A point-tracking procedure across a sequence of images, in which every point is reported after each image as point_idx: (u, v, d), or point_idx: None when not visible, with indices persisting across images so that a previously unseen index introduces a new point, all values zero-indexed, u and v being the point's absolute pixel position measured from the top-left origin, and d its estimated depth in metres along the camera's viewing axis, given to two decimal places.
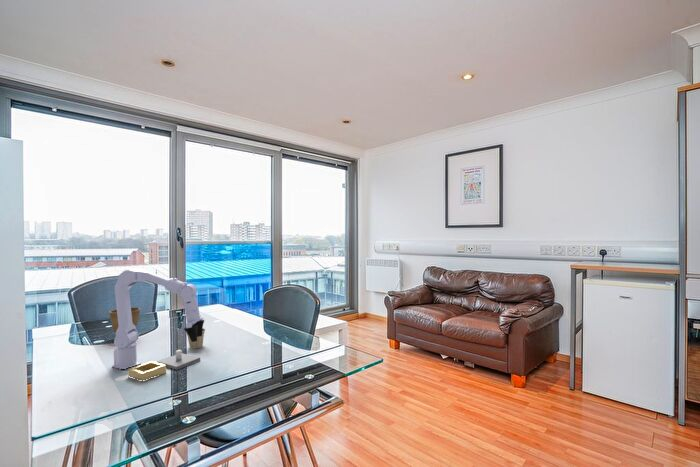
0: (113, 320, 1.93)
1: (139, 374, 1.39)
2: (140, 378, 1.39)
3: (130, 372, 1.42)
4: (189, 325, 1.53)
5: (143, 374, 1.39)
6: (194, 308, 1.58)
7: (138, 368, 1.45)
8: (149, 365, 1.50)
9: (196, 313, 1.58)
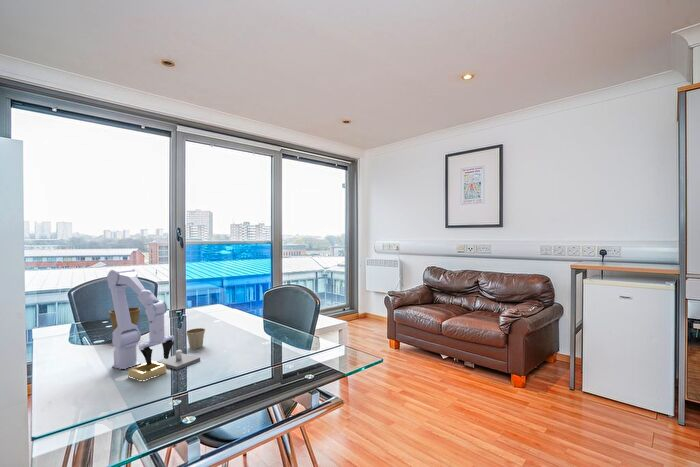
0: (113, 320, 1.93)
1: (139, 374, 1.39)
2: (140, 378, 1.39)
3: (130, 372, 1.42)
4: (140, 347, 1.42)
5: (143, 374, 1.39)
6: (155, 329, 1.46)
7: (138, 368, 1.45)
8: (149, 365, 1.50)
9: (155, 335, 1.46)
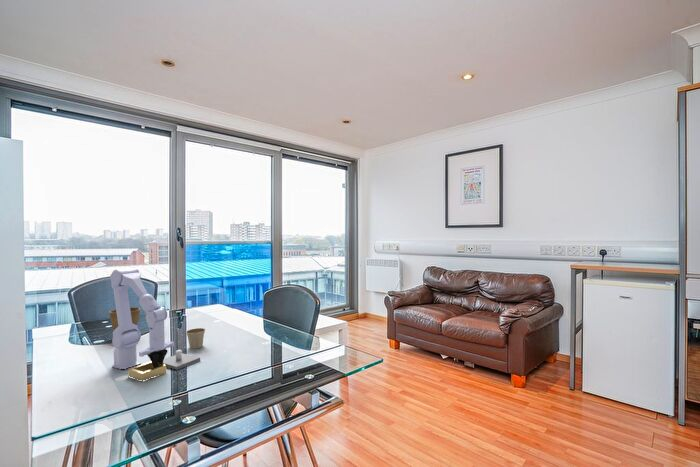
0: (113, 320, 1.93)
1: (139, 374, 1.39)
2: (140, 378, 1.39)
3: (130, 372, 1.42)
4: (140, 354, 1.42)
5: (143, 374, 1.39)
6: (155, 336, 1.46)
7: (138, 368, 1.45)
8: (149, 365, 1.50)
9: (156, 341, 1.46)
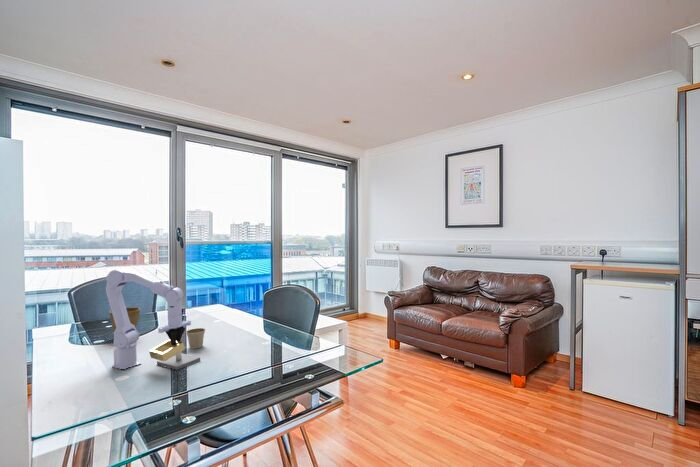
0: (113, 320, 1.93)
1: (160, 355, 1.47)
2: (161, 358, 1.47)
3: (151, 353, 1.51)
4: (160, 330, 1.50)
5: (163, 354, 1.47)
6: (177, 313, 1.55)
7: (158, 348, 1.53)
8: (168, 343, 1.58)
9: (174, 319, 1.54)
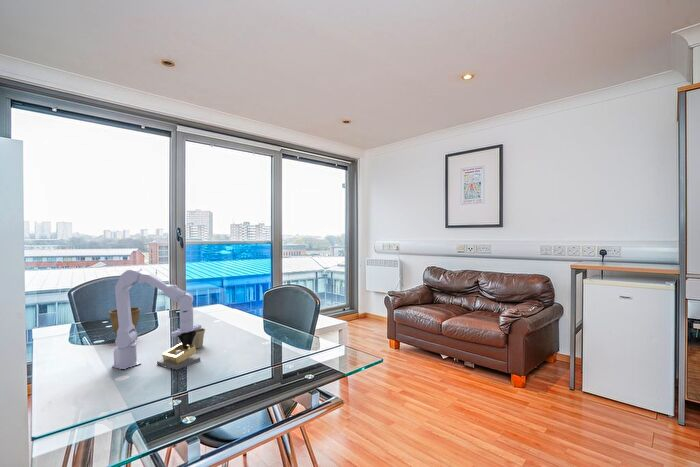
0: (113, 320, 1.93)
1: (173, 358, 1.53)
2: (174, 361, 1.53)
3: (164, 356, 1.56)
4: (173, 334, 1.56)
5: (176, 357, 1.52)
6: (190, 318, 1.61)
7: (170, 351, 1.59)
8: (179, 347, 1.63)
9: (186, 323, 1.60)
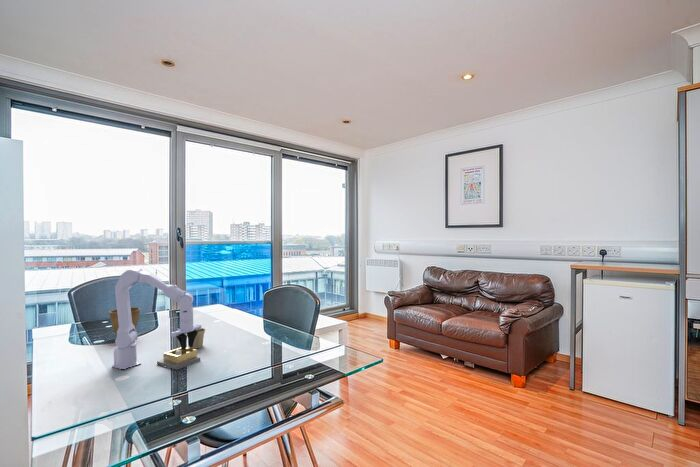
0: (113, 320, 1.93)
1: (174, 357, 1.53)
2: (175, 360, 1.53)
3: (165, 355, 1.57)
4: (173, 334, 1.56)
5: (178, 357, 1.53)
6: (190, 318, 1.61)
7: (172, 352, 1.60)
8: None
9: (186, 323, 1.60)
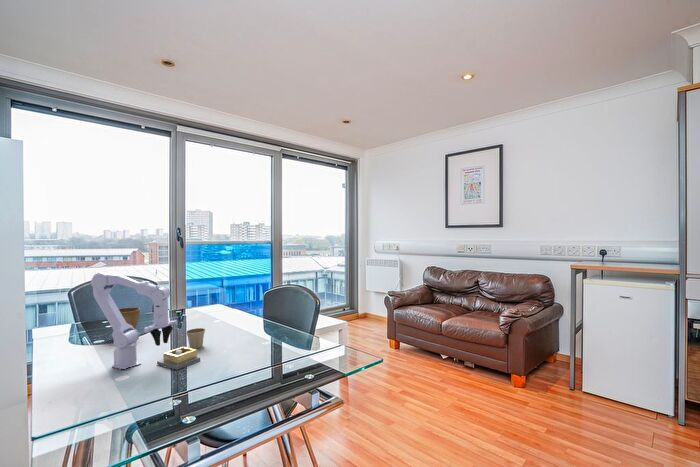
0: None
1: (174, 357, 1.53)
2: (175, 360, 1.53)
3: (165, 355, 1.57)
4: (145, 330, 1.50)
5: (178, 357, 1.53)
6: (163, 313, 1.55)
7: (172, 352, 1.60)
8: None
9: (160, 318, 1.54)
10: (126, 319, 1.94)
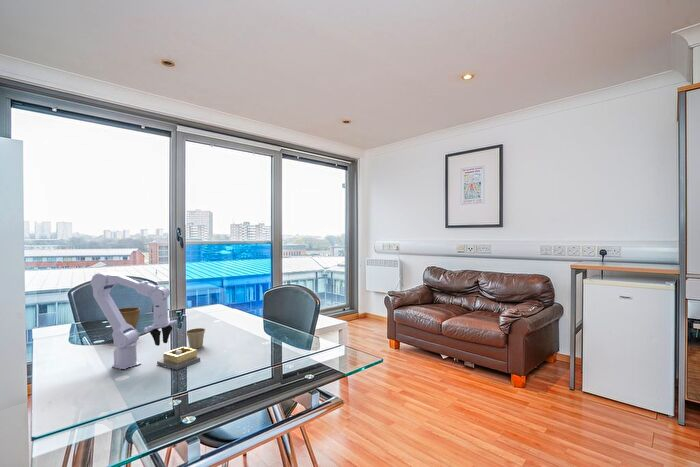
0: None
1: (174, 357, 1.53)
2: (175, 360, 1.53)
3: (165, 355, 1.57)
4: (145, 330, 1.50)
5: (178, 357, 1.53)
6: (162, 313, 1.54)
7: (172, 352, 1.60)
8: None
9: (159, 318, 1.54)
10: (126, 319, 1.94)
